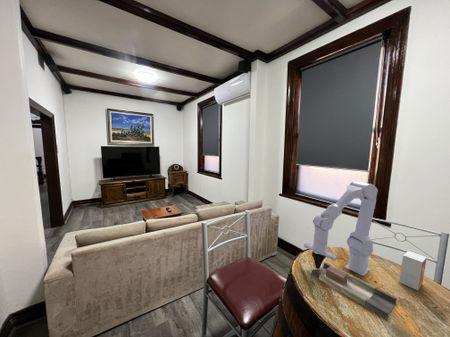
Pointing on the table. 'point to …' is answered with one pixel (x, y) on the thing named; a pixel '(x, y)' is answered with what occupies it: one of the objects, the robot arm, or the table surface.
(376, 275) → the table surface
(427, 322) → the table surface
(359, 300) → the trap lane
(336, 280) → the walnut block
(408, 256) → the small box
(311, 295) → the table surface
